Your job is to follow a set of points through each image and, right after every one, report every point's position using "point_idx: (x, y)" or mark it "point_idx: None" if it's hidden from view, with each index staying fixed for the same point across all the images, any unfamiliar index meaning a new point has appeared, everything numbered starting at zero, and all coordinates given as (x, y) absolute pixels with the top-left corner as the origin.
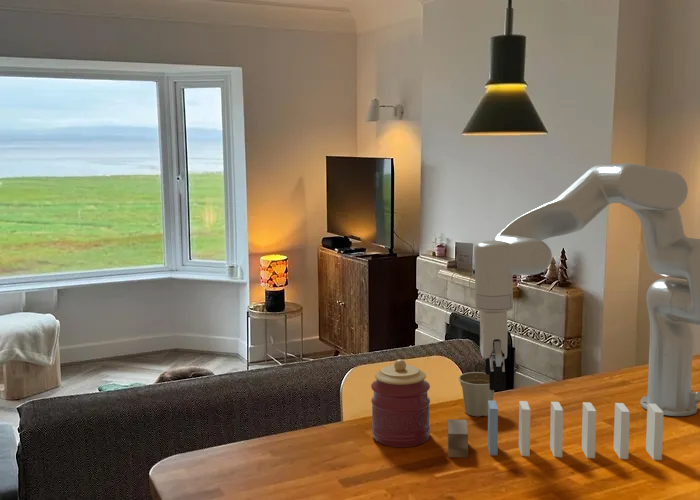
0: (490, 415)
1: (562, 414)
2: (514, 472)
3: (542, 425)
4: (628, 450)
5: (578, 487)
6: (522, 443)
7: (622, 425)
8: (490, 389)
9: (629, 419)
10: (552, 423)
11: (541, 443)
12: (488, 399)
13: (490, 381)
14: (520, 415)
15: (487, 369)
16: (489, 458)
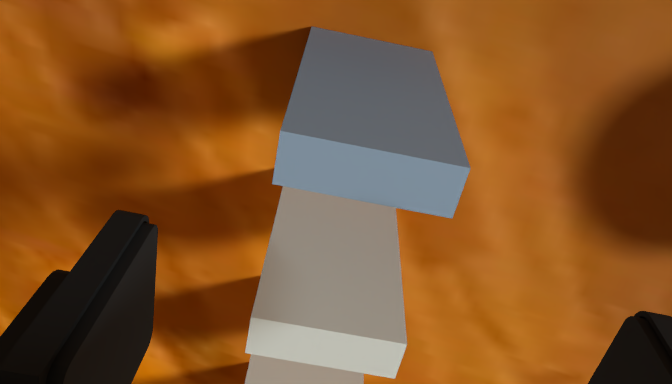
0: (286, 112)
1: None
2: (120, 84)
3: (583, 335)
4: None
5: (15, 260)
6: (280, 198)
7: None
8: (117, 214)
9: None
10: (309, 375)
11: (404, 275)
12: None
13: (78, 273)
14: (338, 284)
15: (651, 362)
16: (274, 13)
